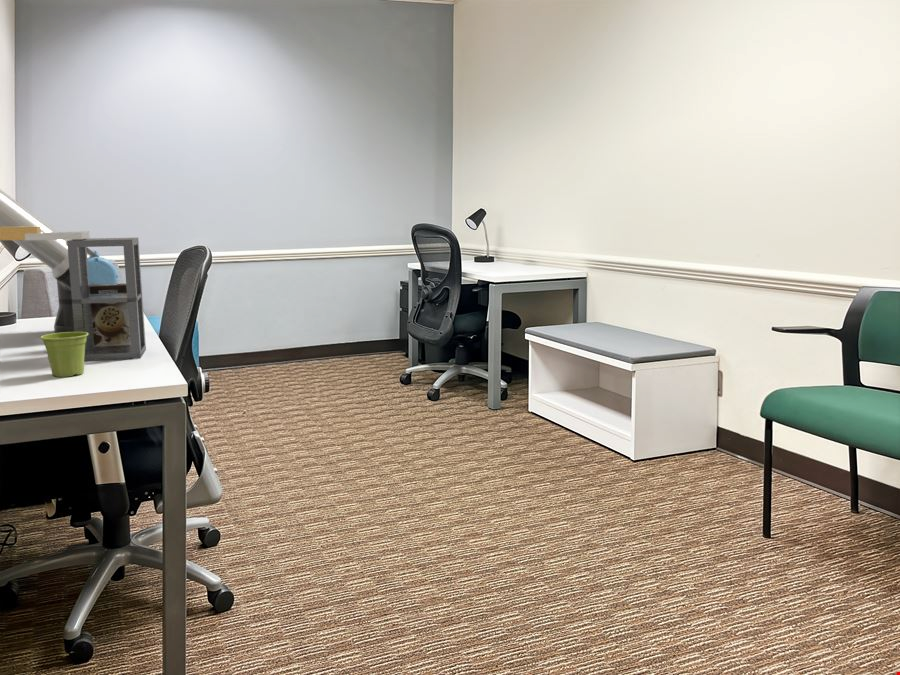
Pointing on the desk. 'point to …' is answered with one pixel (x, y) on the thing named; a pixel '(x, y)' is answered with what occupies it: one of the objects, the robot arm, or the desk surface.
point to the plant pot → (66, 352)
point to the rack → (107, 297)
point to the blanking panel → (38, 234)
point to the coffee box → (110, 317)
